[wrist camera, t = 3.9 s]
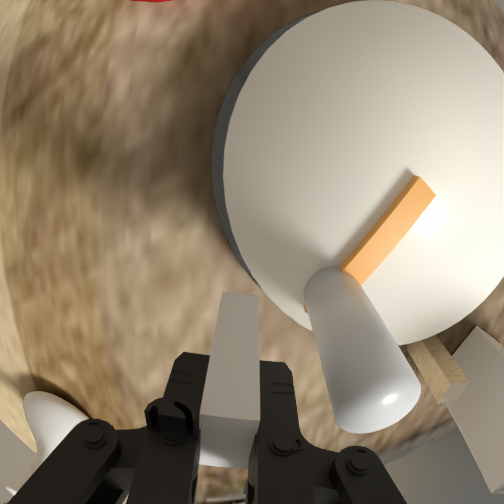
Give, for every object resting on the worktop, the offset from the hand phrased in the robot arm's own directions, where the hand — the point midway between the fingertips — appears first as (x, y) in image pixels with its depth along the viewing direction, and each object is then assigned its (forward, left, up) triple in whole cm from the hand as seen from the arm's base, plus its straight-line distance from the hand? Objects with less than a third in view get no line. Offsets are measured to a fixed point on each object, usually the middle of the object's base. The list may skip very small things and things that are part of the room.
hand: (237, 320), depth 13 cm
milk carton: (+9, +24, -8) cm, 27 cm away
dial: (-7, +8, -6) cm, 13 cm away
